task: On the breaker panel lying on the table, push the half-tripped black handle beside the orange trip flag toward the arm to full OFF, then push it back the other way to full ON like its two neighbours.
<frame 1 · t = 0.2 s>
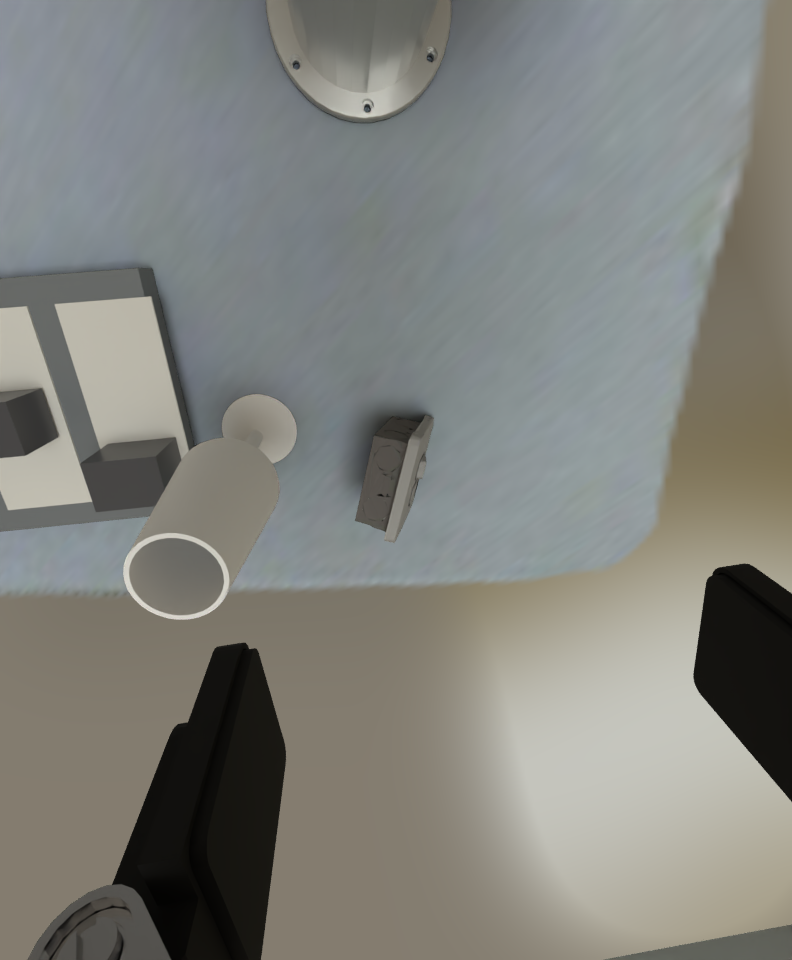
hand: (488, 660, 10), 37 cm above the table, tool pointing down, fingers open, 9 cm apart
champagne flute: (260, 429, 46), on the table
electrical switch: (394, 457, 48), on the table
breaker panel: (39, 405, 43), on the table
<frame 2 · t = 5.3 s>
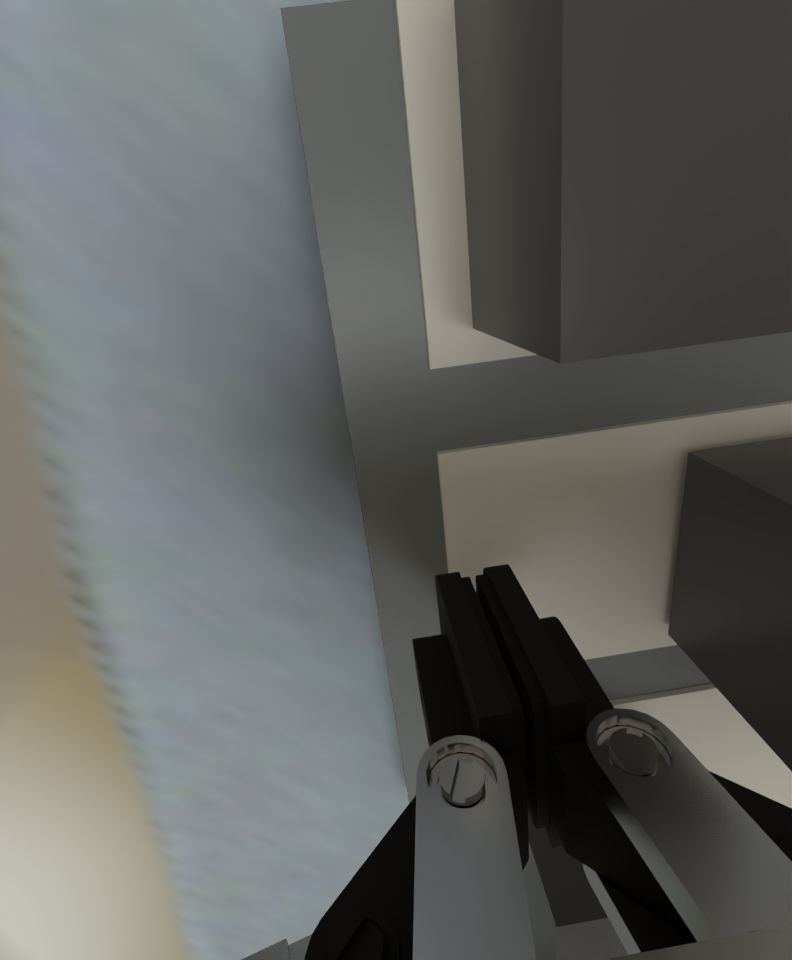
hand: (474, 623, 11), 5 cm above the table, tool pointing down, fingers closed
breaker panel: (671, 487, 16), on the table
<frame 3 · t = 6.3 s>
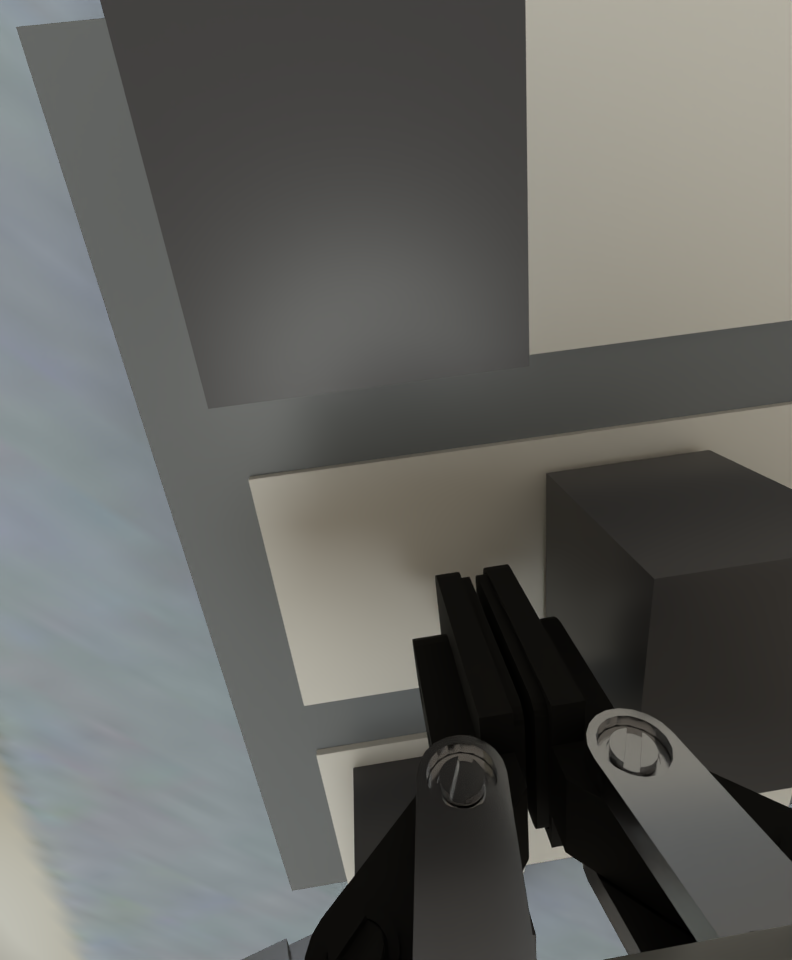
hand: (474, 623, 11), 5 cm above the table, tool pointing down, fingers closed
tripped breaker handle: (673, 614, 11), point 6 cm above the table, slide at 4.1 cm, touching gripper
breaker panel: (538, 507, 16), on the table
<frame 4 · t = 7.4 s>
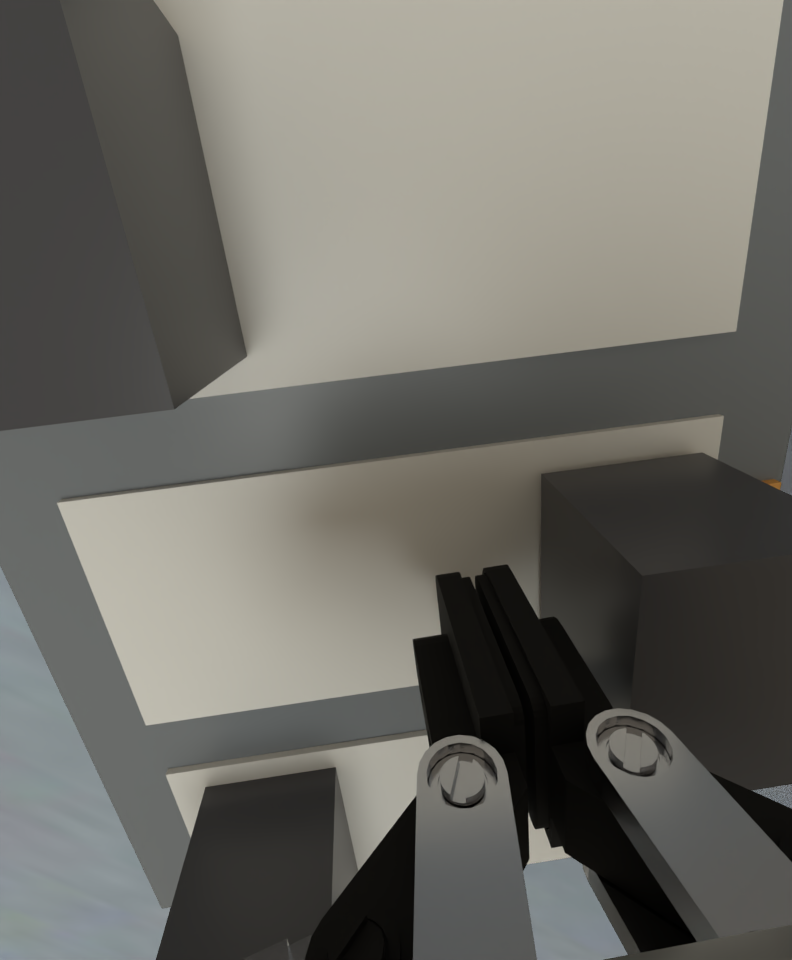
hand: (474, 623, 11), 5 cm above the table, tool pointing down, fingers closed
tripped breaker handle: (665, 613, 11), point 6 cm above the table, slide at -0.3 cm, touching gripper
breaker panel: (401, 527, 16), on the table
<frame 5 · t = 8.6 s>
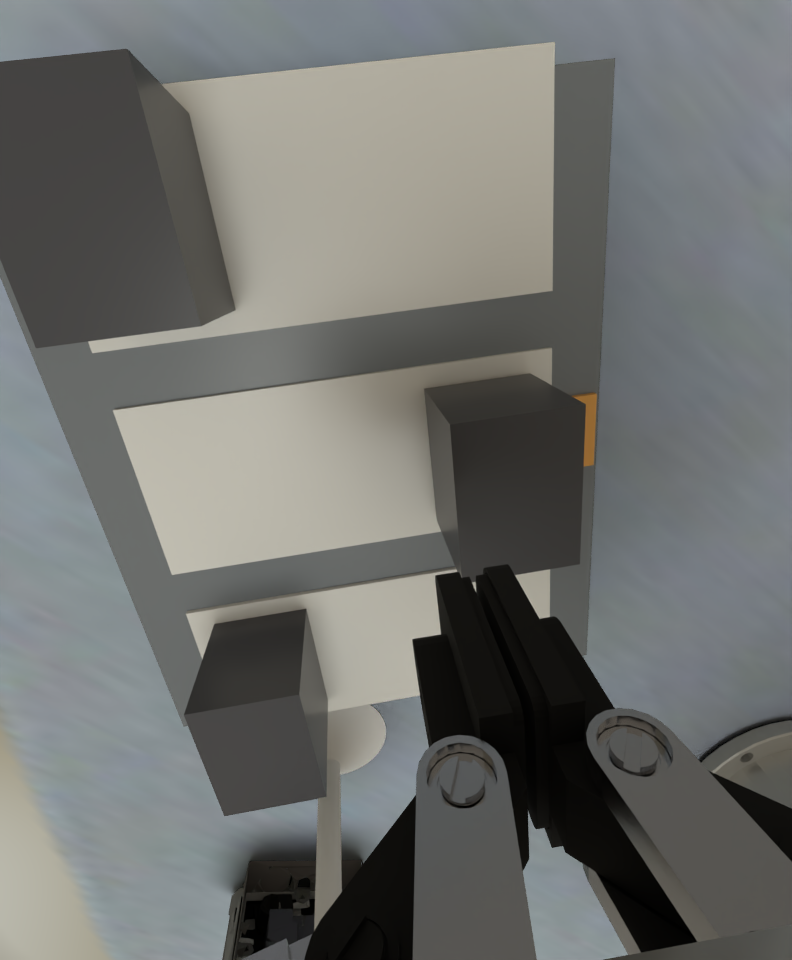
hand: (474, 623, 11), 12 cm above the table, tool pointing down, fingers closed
champagne flute: (330, 734, 30), on the table
tripped breaker handle: (498, 472, 17), point 6 cm above the table, slide at -0.1 cm
electrical switch: (301, 866, 34), on the table
breaker panel: (350, 440, 22), on the table
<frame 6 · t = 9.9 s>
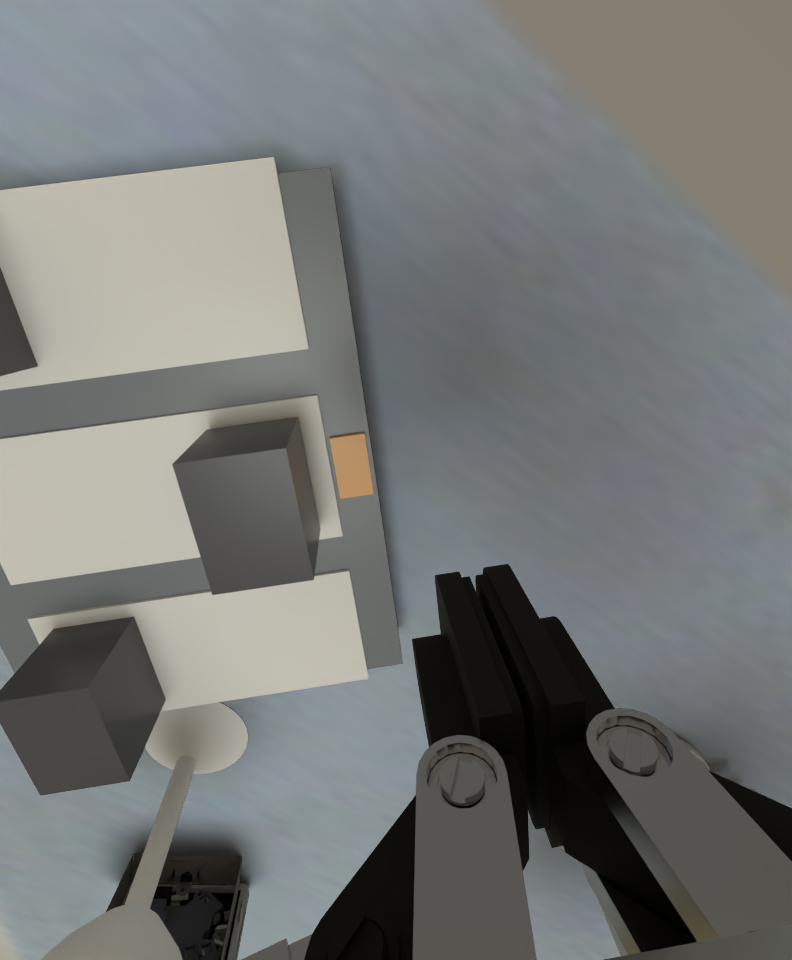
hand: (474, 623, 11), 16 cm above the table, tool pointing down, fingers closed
champagne flute: (196, 734, 33), on the table
tripped breaker handle: (257, 501, 21), point 6 cm above the table, slide at -0.1 cm
electrical switch: (185, 861, 37), on the table
breaker panel: (179, 470, 26), on the table
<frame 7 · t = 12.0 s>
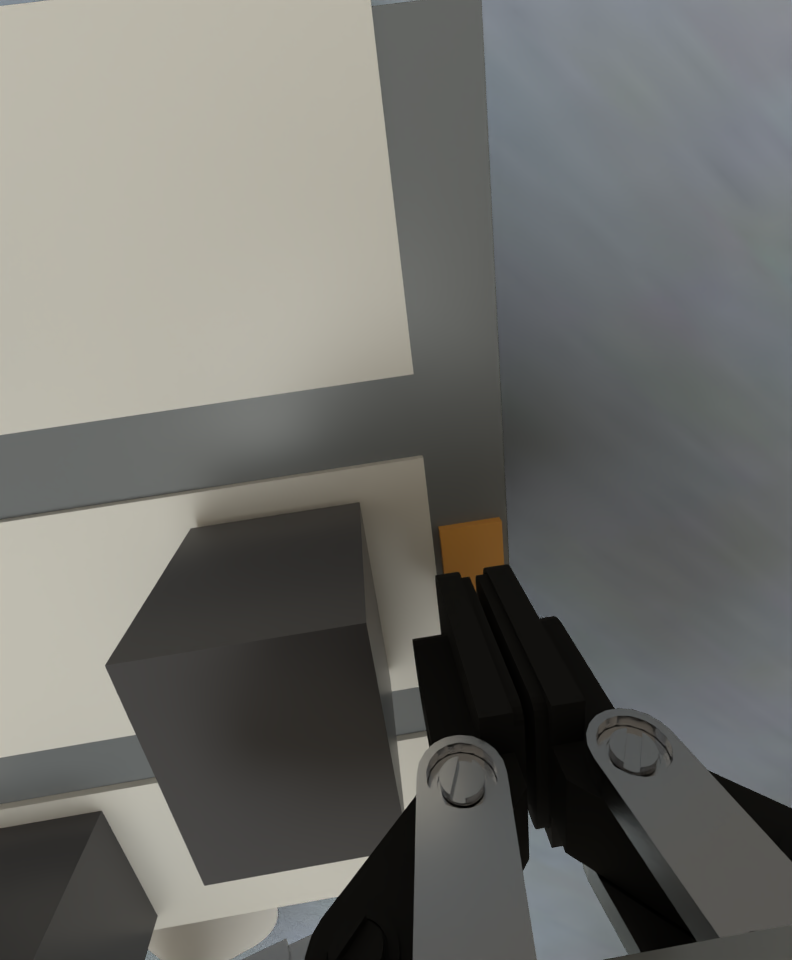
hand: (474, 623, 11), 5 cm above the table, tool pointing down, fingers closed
champagne flute: (204, 911, 23), on the table
tripped breaker handle: (289, 674, 11), point 6 cm above the table, slide at 0.7 cm, touching gripper
breaker panel: (173, 565, 16), on the table
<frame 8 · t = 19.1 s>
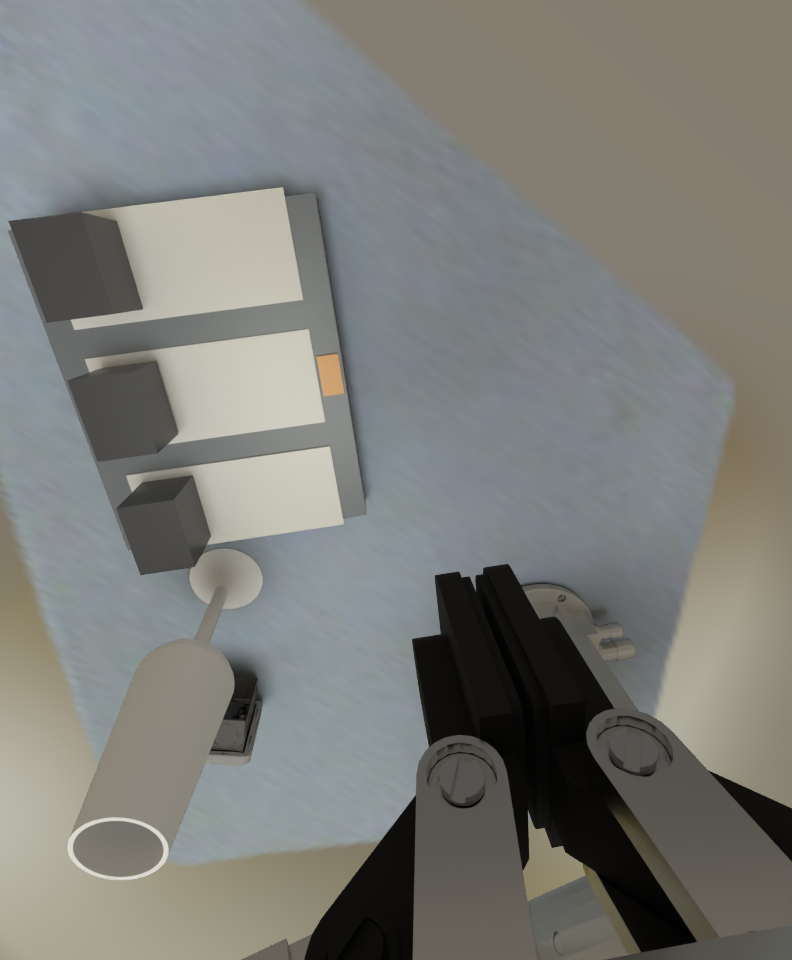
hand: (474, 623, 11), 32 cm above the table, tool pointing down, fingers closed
champagne flute: (226, 578, 47), on the table
tripped breaker handle: (127, 409, 35), point 6 cm above the table, slide at 10.1 cm
electrical switch: (217, 681, 52), on the table
breaker panel: (220, 383, 40), on the table
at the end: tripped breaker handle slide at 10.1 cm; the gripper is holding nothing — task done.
